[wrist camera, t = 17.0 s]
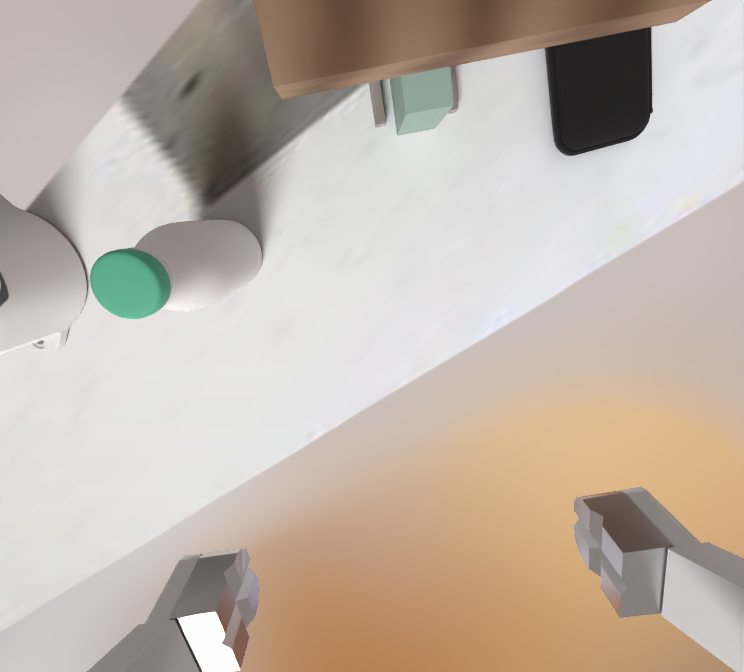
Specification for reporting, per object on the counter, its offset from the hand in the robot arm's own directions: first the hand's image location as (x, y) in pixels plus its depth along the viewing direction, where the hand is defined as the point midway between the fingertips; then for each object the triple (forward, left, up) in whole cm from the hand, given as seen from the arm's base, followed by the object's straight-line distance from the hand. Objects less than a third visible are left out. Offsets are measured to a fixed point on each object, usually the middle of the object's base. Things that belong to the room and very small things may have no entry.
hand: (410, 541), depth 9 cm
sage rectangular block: (+7, +19, -37) cm, 42 cm away
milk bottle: (-16, +6, -37) cm, 41 cm away
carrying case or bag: (+26, +17, -38) cm, 49 cm away
